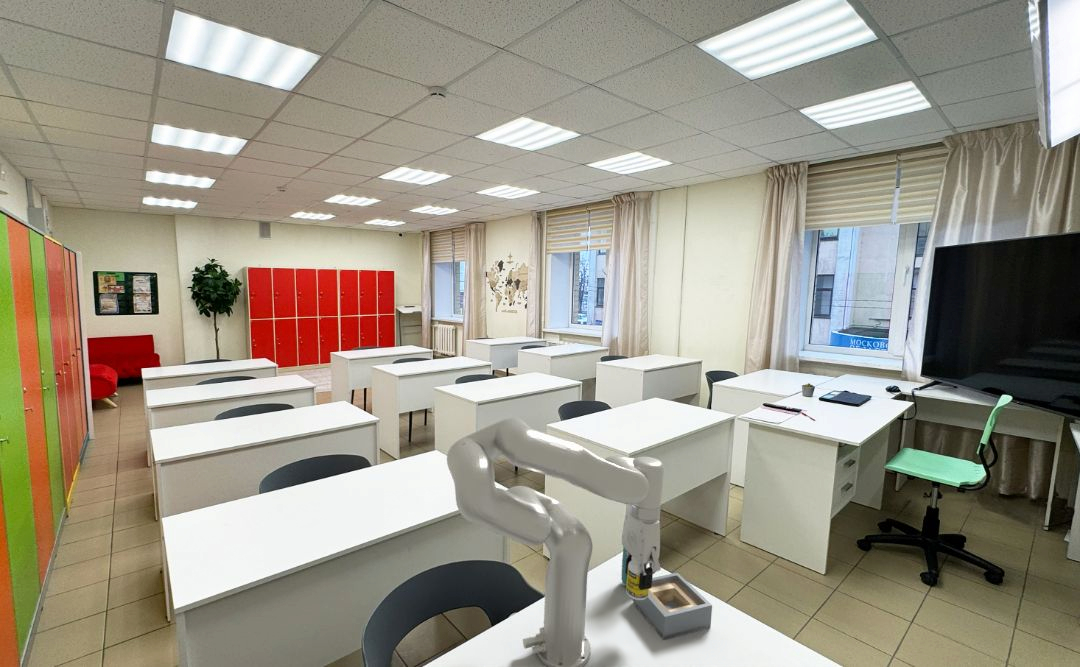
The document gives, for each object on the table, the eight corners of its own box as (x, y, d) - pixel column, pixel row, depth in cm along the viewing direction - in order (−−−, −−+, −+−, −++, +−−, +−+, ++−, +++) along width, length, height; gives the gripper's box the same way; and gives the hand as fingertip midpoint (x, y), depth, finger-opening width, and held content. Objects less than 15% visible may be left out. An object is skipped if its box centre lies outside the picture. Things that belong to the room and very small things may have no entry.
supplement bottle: (622, 595, 112) (626, 557, 111) (629, 584, 116) (632, 547, 116) (644, 604, 109) (648, 564, 108) (650, 591, 114) (654, 553, 113)
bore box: (663, 640, 111) (665, 616, 111) (632, 602, 124) (634, 581, 124) (710, 627, 116) (712, 605, 116) (676, 592, 129) (677, 572, 129)
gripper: (612, 495, 118) (607, 563, 119) (651, 528, 102) (644, 606, 103) (638, 493, 120) (632, 559, 122) (679, 525, 104) (672, 600, 106)
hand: (638, 580), depth 112 cm, fingers closed on supplement bottle, 5 cm apart
